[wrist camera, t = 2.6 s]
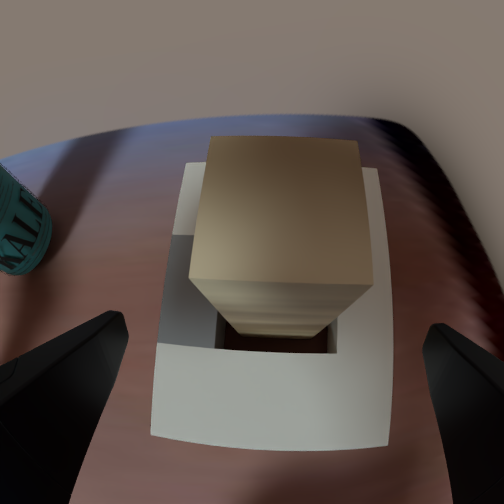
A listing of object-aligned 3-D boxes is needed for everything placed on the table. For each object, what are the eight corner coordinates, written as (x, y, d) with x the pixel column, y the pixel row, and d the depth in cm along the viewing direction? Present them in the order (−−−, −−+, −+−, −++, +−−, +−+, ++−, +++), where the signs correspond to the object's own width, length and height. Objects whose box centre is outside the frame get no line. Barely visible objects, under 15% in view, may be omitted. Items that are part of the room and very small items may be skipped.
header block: (370, 435, 15) (387, 445, 12) (168, 425, 16) (150, 434, 13) (365, 193, 21) (377, 168, 18) (196, 188, 22) (186, 162, 19)
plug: (310, 339, 18) (373, 284, 6) (241, 336, 18) (188, 277, 7) (311, 273, 19) (357, 140, 8) (246, 271, 19) (211, 136, 8)
